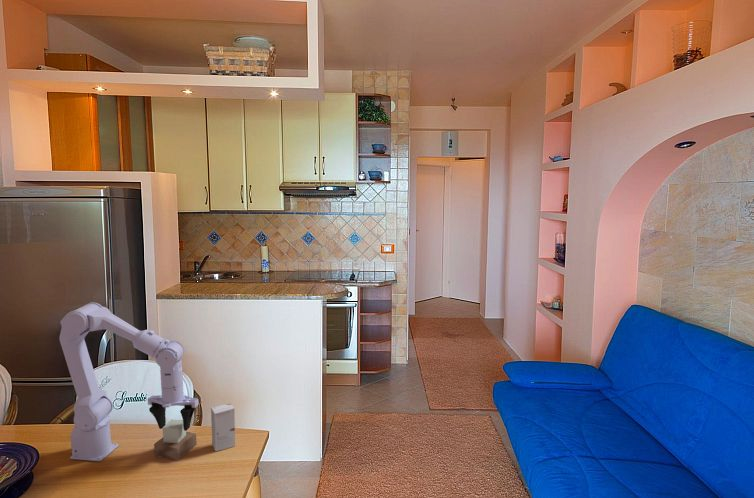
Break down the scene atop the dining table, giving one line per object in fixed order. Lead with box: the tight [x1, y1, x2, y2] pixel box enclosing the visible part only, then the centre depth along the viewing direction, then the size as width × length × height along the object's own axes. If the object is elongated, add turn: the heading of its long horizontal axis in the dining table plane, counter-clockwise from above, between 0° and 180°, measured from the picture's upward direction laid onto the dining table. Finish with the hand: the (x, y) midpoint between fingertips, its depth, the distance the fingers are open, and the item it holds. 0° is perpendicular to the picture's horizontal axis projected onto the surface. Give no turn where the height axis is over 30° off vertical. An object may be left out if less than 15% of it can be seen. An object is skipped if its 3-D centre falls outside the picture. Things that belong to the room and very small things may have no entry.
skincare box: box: [210, 402, 236, 452], centre depth 133 cm, size 6×4×12 cm
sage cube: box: [162, 419, 187, 443], centre depth 131 cm, size 4×4×4 cm
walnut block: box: [153, 431, 198, 461], centre depth 131 cm, size 8×8×4 cm
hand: (174, 427), depth 131 cm, fingers open, 7 cm apart
